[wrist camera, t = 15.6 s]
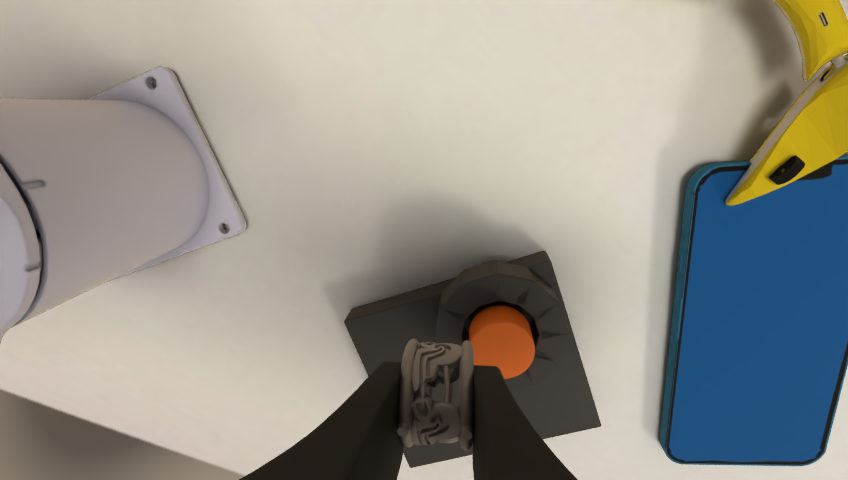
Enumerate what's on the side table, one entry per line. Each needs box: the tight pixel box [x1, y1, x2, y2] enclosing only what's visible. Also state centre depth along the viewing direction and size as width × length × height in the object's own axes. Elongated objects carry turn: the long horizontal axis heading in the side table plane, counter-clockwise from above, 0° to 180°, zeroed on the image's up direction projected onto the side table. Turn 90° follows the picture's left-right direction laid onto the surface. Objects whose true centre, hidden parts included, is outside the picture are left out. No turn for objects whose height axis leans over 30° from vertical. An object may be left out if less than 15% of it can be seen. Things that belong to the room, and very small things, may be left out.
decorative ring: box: [397, 339, 474, 451], centre depth 12 cm, size 3×2×3 cm
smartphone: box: [660, 154, 848, 466], centre depth 20 cm, size 7×1×15 cm
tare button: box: [469, 305, 535, 379], centre depth 18 cm, size 3×3×2 cm
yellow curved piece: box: [725, 0, 848, 206], centre depth 16 cm, size 10×4×10 cm
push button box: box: [344, 251, 601, 468], centre depth 21 cm, size 10×10×3 cm
